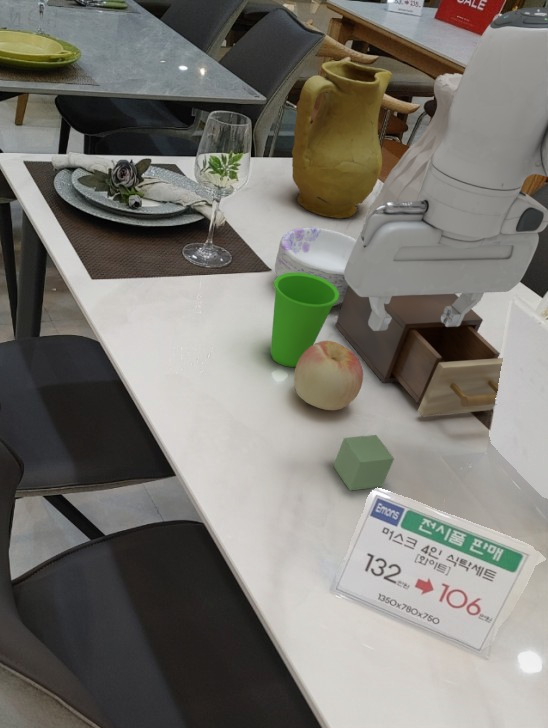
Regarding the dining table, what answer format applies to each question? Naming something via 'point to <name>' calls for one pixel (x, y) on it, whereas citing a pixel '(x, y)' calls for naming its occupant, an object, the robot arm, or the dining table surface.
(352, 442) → the block
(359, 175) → the pitcher
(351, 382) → the apple
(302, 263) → the paper bowls
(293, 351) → the cup
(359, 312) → the cabinet
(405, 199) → the vase
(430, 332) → the drawer
